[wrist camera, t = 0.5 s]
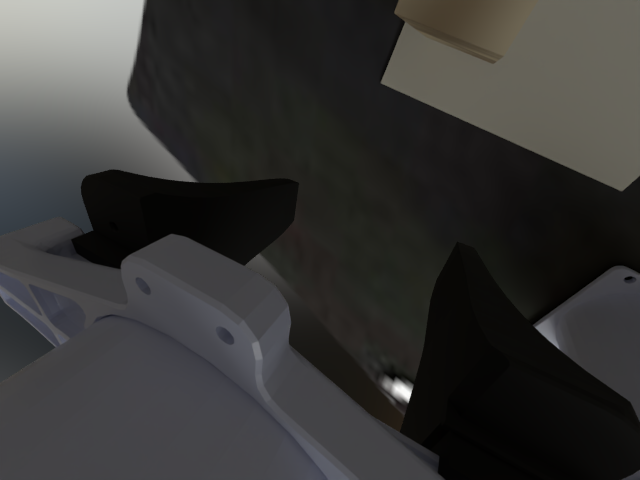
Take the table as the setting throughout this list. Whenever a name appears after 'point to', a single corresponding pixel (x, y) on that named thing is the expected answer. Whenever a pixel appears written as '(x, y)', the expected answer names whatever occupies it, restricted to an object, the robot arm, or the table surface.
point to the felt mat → (544, 85)
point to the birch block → (468, 23)
